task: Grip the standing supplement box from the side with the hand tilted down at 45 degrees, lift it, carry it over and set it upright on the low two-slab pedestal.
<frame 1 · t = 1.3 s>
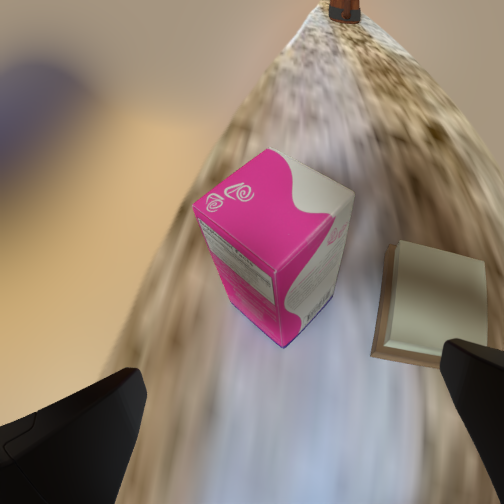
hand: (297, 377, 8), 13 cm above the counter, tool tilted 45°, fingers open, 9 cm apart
supplement box: (280, 300, 24), on the counter
pedestal: (429, 312, 22), on the counter
banded dark cylinder: (344, 22, 63), on the counter
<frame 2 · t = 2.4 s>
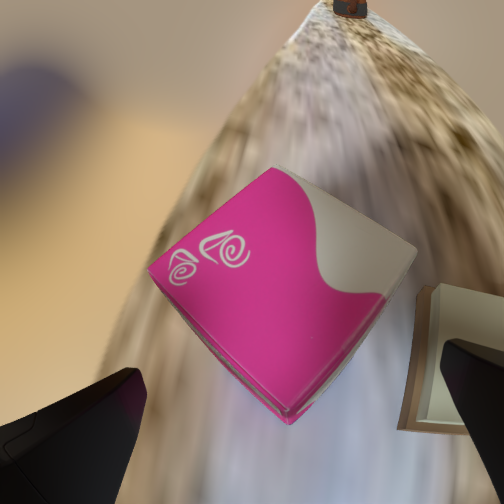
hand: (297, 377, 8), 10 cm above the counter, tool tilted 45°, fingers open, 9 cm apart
supplement box: (286, 361, 18), on the counter
pedestal: (467, 368, 16), on the counter
banded dark cylinder: (350, 17, 57), on the counter
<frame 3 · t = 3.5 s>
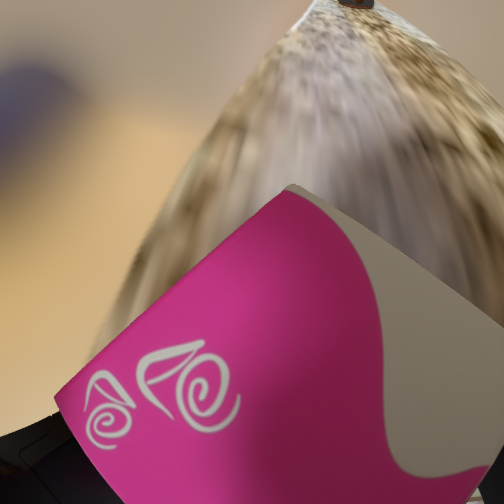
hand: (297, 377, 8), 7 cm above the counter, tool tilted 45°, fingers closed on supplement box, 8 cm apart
supplement box: (293, 427, 13), on the counter, touching gripper
banded dark cylinder: (356, 7, 52), on the counter
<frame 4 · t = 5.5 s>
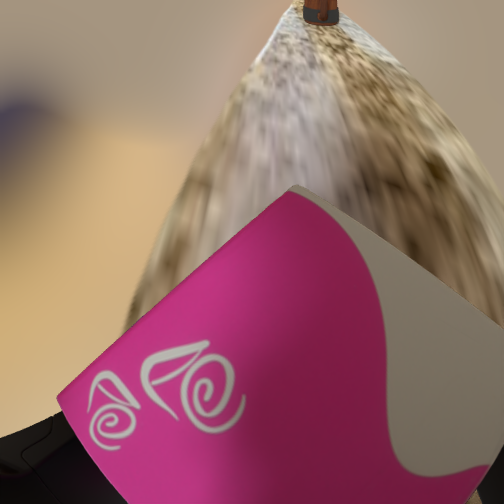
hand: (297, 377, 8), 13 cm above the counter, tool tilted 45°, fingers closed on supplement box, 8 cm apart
supplement box: (291, 427, 13), point 6 cm above the counter, touching gripper
banded dark cylinder: (321, 24, 58), on the counter
when the fingers open (11 cm above the counter, at t = 7.3 s): supplement box drops 1 cm, resting on pedestal.
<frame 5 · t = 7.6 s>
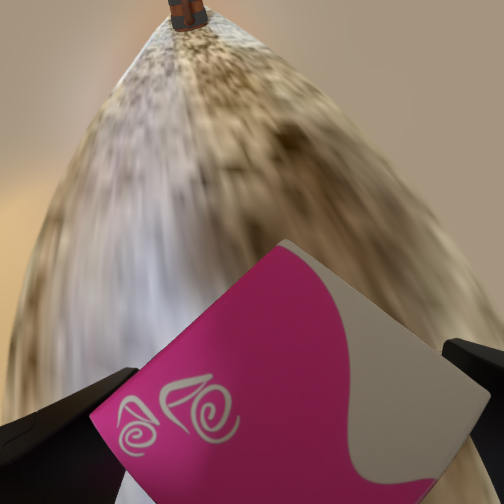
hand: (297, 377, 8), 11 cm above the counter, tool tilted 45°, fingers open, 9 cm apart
supplement box: (289, 431, 14), point 3 cm above the counter, touching pedestal
banded dark cylinder: (191, 29, 59), on the counter
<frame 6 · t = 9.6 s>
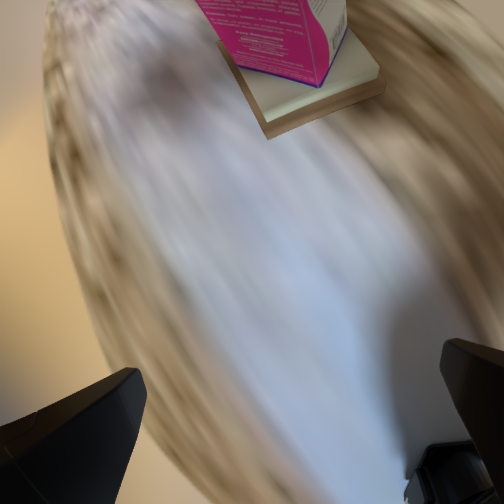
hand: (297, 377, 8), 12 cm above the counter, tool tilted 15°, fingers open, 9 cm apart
supplement box: (292, 47, 17), point 3 cm above the counter, touching pedestal
pedestal: (298, 66, 20), on the counter
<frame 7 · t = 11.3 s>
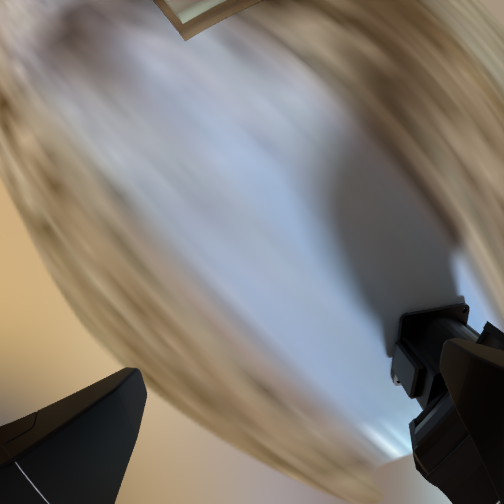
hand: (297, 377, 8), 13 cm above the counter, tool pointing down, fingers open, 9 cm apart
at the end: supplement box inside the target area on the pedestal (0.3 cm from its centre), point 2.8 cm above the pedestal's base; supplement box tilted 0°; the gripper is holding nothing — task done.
